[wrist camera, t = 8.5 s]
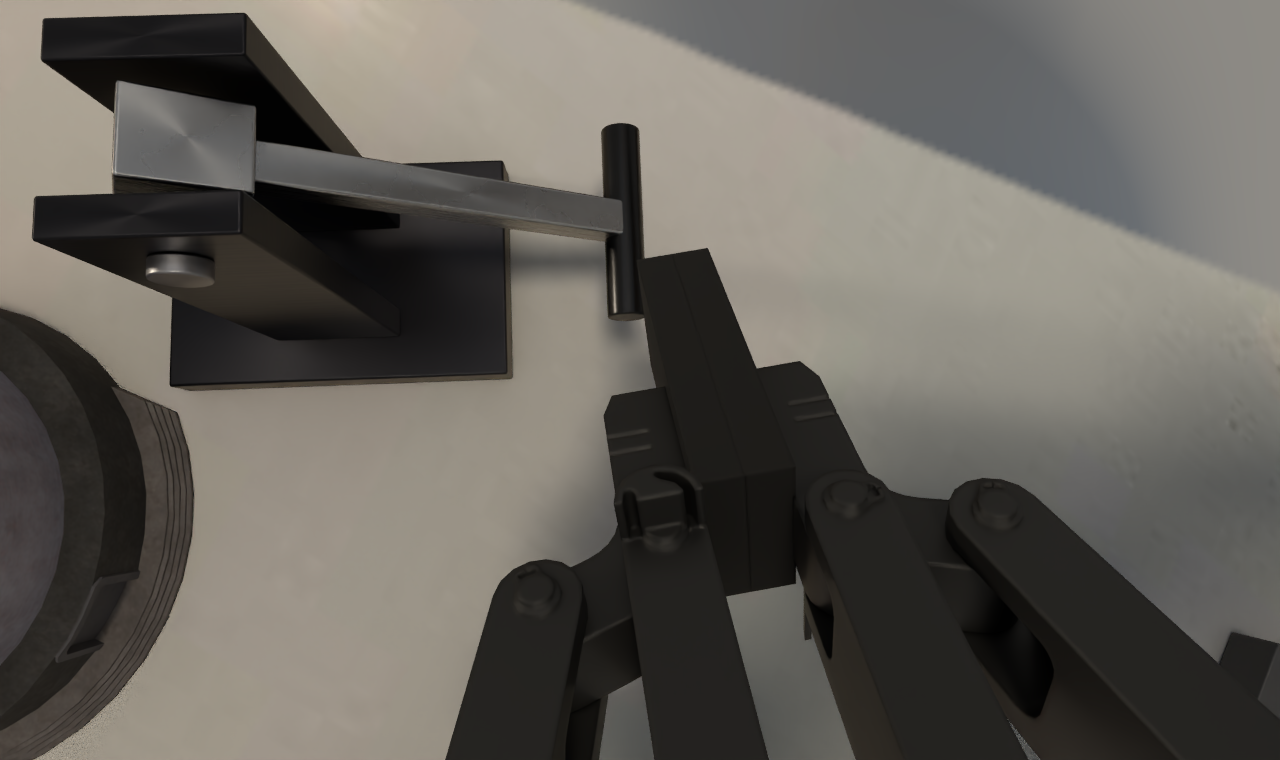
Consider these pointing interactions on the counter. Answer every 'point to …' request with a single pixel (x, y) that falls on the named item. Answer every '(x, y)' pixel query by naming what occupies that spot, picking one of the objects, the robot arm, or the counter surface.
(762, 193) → the counter surface
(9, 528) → the grey piece
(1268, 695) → the button block
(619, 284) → the lever
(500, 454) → the counter surface
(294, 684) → the counter surface
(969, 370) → the counter surface
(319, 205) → the bracket
